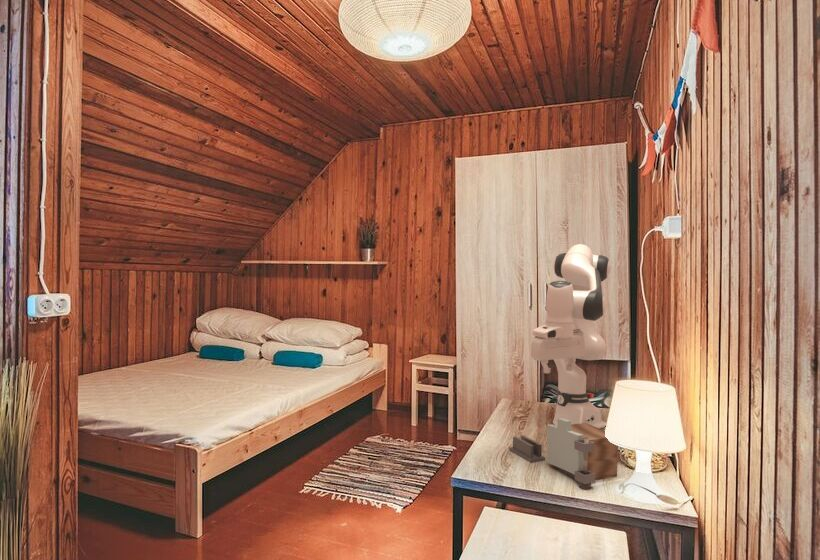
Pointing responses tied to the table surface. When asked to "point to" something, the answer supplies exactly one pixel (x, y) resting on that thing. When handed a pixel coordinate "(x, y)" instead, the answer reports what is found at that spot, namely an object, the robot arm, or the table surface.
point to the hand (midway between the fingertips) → (558, 371)
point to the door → (568, 450)
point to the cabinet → (597, 453)
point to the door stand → (527, 449)
